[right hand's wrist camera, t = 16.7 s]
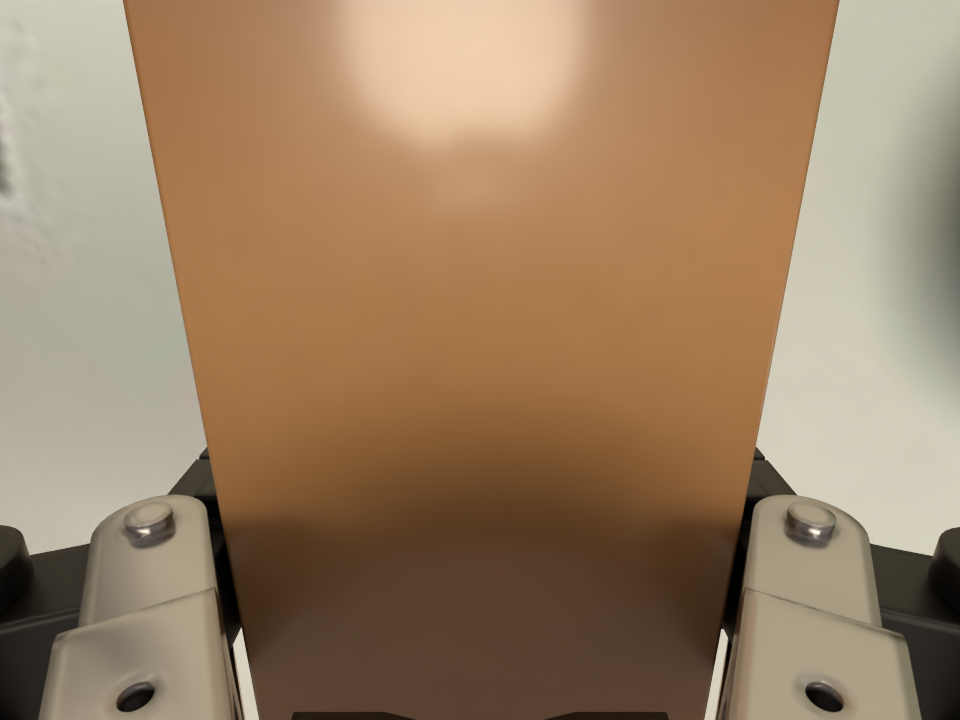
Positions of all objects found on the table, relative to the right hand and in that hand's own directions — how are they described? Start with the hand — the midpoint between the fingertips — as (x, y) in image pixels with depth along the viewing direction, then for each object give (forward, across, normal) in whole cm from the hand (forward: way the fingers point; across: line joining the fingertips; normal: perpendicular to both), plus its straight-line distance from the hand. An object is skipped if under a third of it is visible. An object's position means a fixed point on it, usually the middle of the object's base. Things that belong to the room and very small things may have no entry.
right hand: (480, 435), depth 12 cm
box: (+5, 0, -8) cm, 9 cm away
